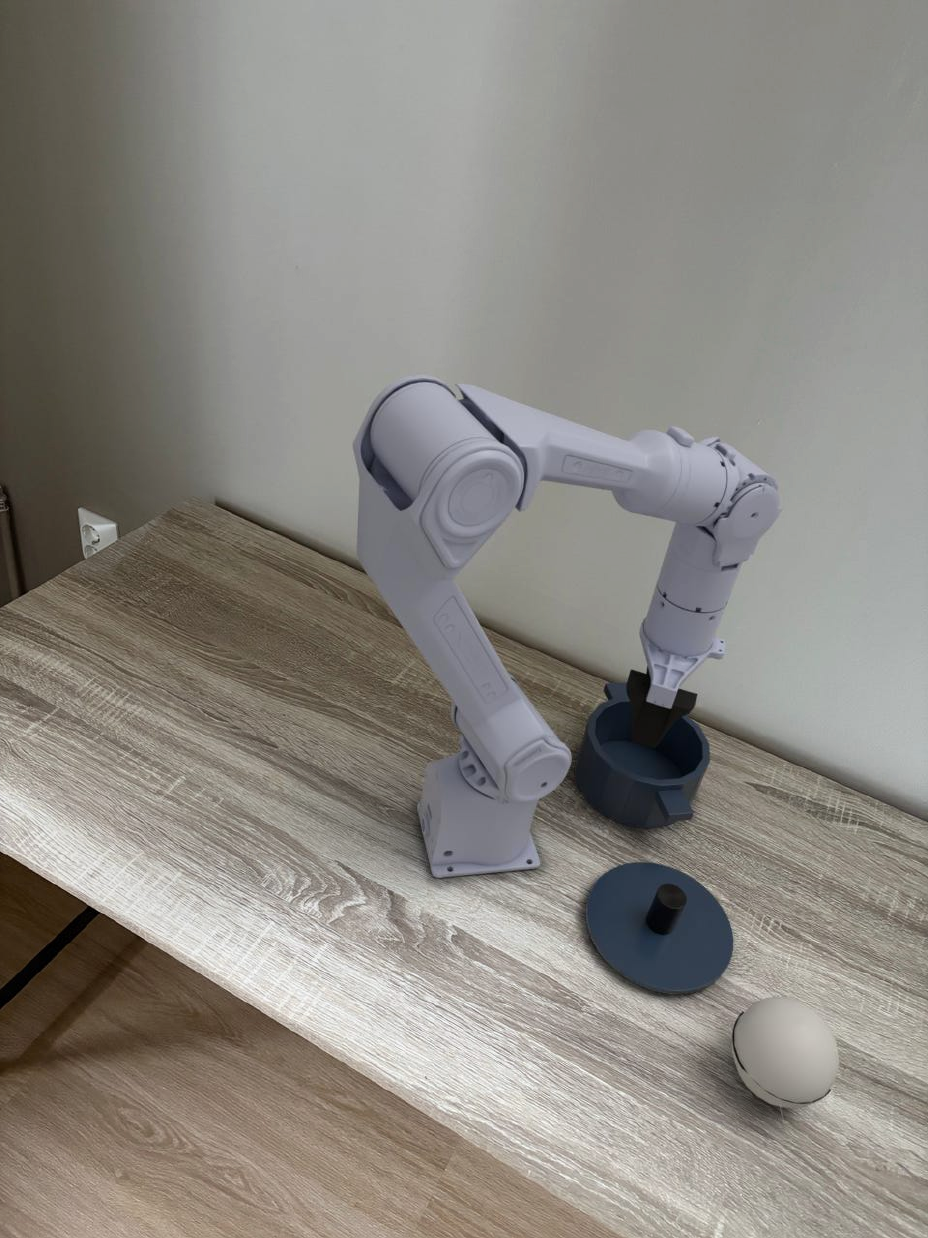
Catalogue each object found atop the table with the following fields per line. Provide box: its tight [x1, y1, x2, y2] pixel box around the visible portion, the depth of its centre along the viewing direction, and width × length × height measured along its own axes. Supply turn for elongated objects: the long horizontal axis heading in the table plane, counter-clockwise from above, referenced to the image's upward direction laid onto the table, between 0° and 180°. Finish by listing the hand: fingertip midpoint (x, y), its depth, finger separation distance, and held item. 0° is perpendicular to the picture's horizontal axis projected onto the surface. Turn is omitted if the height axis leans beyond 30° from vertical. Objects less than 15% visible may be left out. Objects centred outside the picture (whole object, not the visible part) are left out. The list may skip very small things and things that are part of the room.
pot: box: [574, 681, 711, 829], centre depth 92 cm, size 11×17×6 cm
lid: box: [585, 861, 734, 995], centre depth 80 cm, size 12×12×5 cm
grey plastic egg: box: [731, 996, 840, 1140], centre depth 69 cm, size 10×7×7 cm
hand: (650, 713), depth 86 cm, fingers open, 7 cm apart
